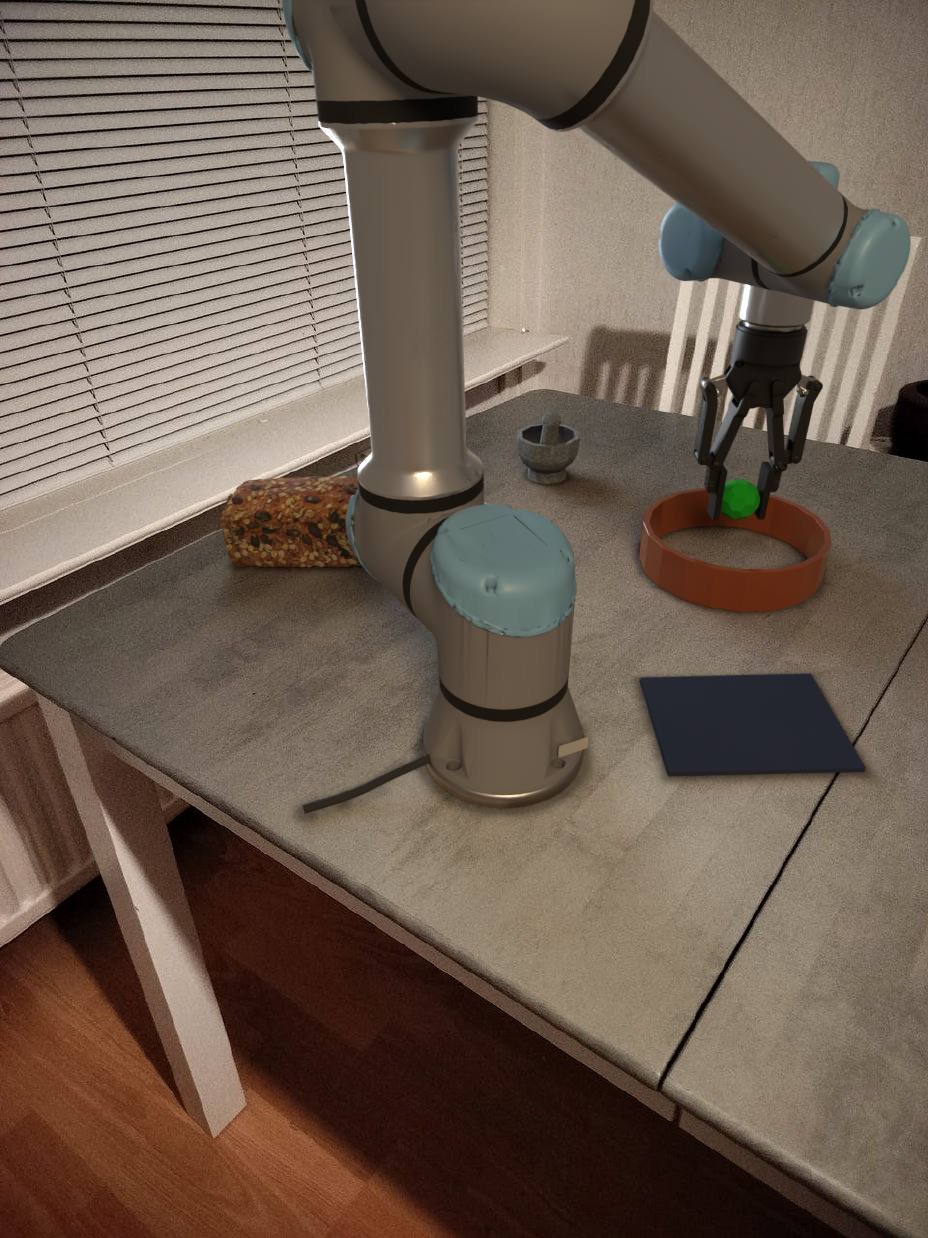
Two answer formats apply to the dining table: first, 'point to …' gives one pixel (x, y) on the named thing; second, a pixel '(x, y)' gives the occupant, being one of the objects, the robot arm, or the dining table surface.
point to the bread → (290, 522)
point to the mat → (747, 726)
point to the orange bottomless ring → (729, 583)
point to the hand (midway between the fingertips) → (735, 514)
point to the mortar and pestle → (548, 448)
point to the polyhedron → (740, 499)
